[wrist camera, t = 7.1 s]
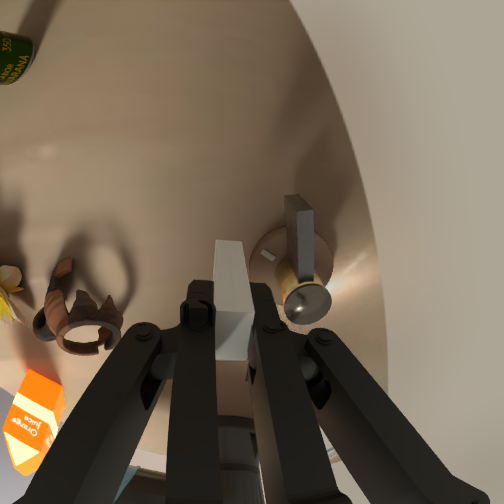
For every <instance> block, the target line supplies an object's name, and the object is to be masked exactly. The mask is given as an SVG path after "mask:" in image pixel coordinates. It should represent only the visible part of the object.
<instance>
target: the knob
mask: <svg viewBox="0 0 504 504" xmlns="http://www.w3.org/2000/svg"><path fill="white" fill-rule="evenodd" d="M284 202H285V217H286V235H287V255H288V257H286V258H284V259H283V260H281V261H280V262H279V264H278V265H277V267H276V269H275V278H276V282H277V285H278V288H279V291H280V294H281V297H282V300H283V304H284V311H285V314H286V317H287V318H288V319H289V320H290V321H291V322H293V323H295V324H299V325H306V324H311V323H314V322H316V321H318V320H320V319H321V318H323V317H324V316H325V315H326V314H327V312H328V311H329V309H330V307H331V303H332V299H331V295H330V294H329V292H328V290H327V289H326V288H325V287H324V285H323V284H322V282H321V280H320V278H319V277H318V275H317V273H316V271H315V269H314V209H313V208H312V207H311V206H310V205H309V204H308V203H307V202H306V201H305V200H304V199H303V198H302V197H301V196H300V195H299V194H295V195H286V196H284Z"/></svg>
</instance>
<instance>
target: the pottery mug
mask: <svg viewBox="0 0 504 504" xmlns="http://www.w3.org/2000/svg"><path fill="white" fill-rule="evenodd" d="M72 263H73V258H71V257H70V258H67V259H65V260H63V261H61V262H60V263H59V264H58V265H56V267H55V268H54V270H53V272H52V276H51V279H50V284H49V287H48V290H47V293H46V297H45V303H44V307H43V308H42V309H41V310H40V311H39V312H38V313H37V315H36V316H35V318H34V321H33V332H34V334H35V336H36V337H37V338H38V339H41V340H42V341H45V342H47V341H52V340H56V341H57V344H58V345H59V347H60V348H61V349H63V350H64V351H66V352H68V353H70V354H74V355H81V356H89V355H96V354H99V350H98V346H101V345H103V344H104V348H105V350H110V349H113V348H114V347H115V346H116V345H117V344H118V342H119V341H120V340H121V331H120V329H121V327H122V324H123V317H122V314H121V312H120V311H119V310H118V309H117V308H116V307H115V305H114V302H113V300H112V298H111V296H110V295H108V298H107V300H106V302H105V303H104V304H103V305H102V306H101V308H100V309H99V310H98V308H97V305H96V303H95V302H94V301H93V300H92V299H91V298H90V297H89V295H88V293H87V292H86V291H83V290H77V291H76V300H75V302H74V304H73V307H72V309H71V311H70V313H69V312H68V310H67V308H66V305H65V298H64V295H63V294H62V292H61V290H57V287H58V286H57V280H58V278H60V277H61V276H63V275H65V274H67V273H70V272H71V271H72ZM84 325H98V326H102V327H101V328H99V330H98V334H99V339H98V341H94V342H88V343H80V342H73V341H70V340H66V339H65V338H64V335H65V334H66V333H67V332H68V331H70V330H71V329H72V328H76V327H79V326H84Z"/></svg>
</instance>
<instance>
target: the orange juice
mask: <svg viewBox="0 0 504 504" xmlns="http://www.w3.org/2000/svg"><path fill="white" fill-rule="evenodd" d="M64 408H65V401H64V394H63V387H62V386H61V385H59V384H57V383H55V382H53V381H51V380H49V379H47V378H45V377H43V376H41V375H40V374H38V373H36V372H34V371H32V370H31V369H29V370H28V372H27V374H26V376H25V378H24V380H23V382H22V384H21V386H20V388H19V391H18V392H17V394H16V397H15V399H14V401H13V404H12V407H11V409H10V412H9V414H8V417H7V419H6V422H5V425H4V427H3V431H4V435H5V439H6V443H7V446H8V449H9V453H10V456H11V459H12V462H13V465H14V468H15V469H16V470H18V471H19V472H20V473H22V474H23V475H25V476H27V475H29V474H31V473H33V472H34V471H36V470H37V469H38V468H39V466H40V464H41V462H42V460H43V459H44V457H45V455H46V453H47V452H48V450H49V448H50V446H51V445H52V443H53V441H54V440H55V437H56V434H57V430H58V426H59V423H60V420H61V417H62V414H63V411H64Z"/></svg>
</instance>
